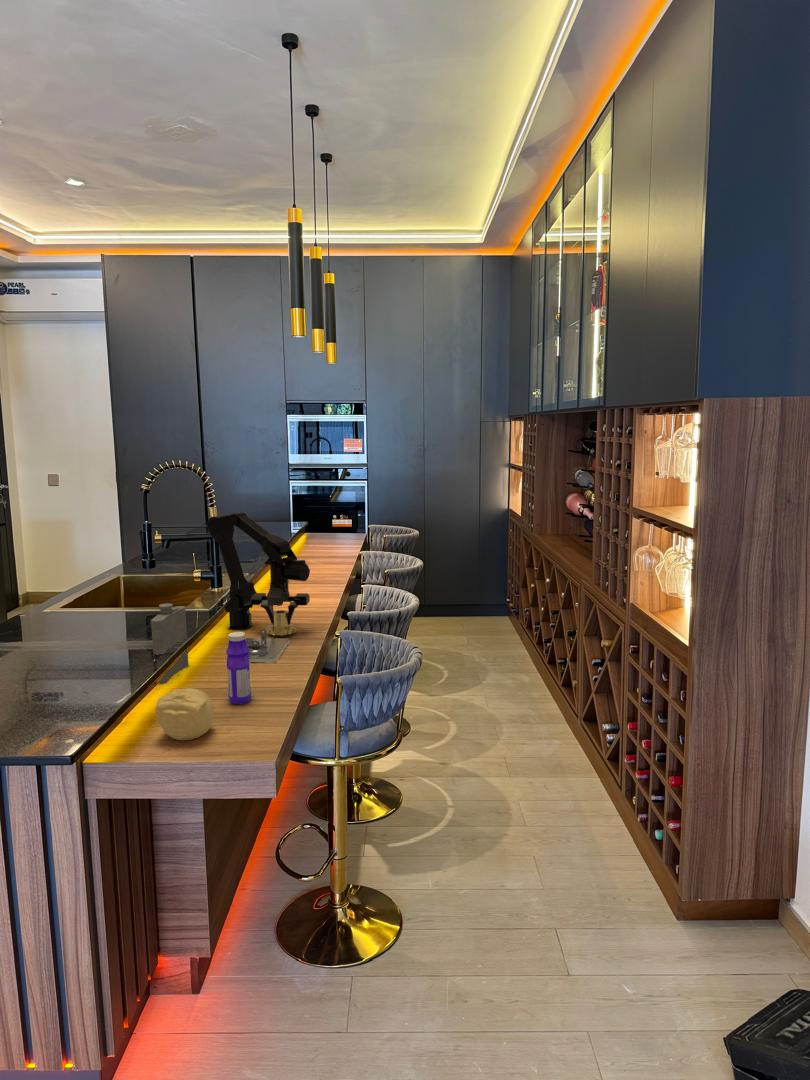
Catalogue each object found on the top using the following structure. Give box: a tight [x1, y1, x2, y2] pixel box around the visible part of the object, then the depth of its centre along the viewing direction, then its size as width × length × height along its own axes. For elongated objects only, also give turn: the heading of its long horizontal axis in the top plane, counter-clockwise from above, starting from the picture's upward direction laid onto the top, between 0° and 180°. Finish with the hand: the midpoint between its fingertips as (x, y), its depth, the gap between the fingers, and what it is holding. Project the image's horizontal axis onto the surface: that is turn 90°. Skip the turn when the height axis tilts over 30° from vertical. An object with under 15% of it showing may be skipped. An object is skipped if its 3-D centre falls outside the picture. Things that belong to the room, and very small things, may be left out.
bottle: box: [225, 631, 252, 705], centre depth 176 cm, size 7×6×17 cm
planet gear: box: [264, 609, 298, 636], centre depth 233 cm, size 10×10×6 cm
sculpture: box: [154, 687, 215, 741], centre depth 158 cm, size 12×12×11 cm
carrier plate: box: [245, 630, 291, 664], centre depth 215 cm, size 14×20×5 cm
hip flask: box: [150, 603, 190, 685], centre depth 195 cm, size 16×4×20 cm, turn 172°
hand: (281, 624), depth 234 cm, fingers closed on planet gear, 5 cm apart
